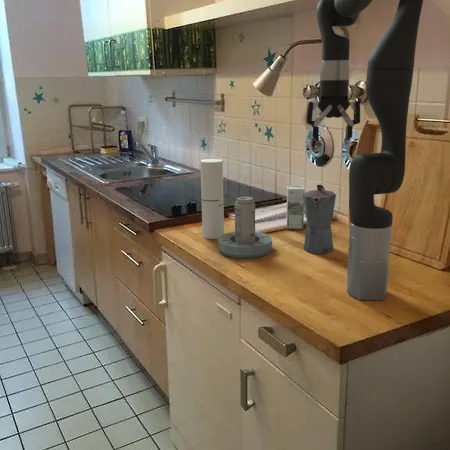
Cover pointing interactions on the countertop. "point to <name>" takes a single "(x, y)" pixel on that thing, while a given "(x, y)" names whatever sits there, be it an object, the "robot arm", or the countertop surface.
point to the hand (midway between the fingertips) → (332, 140)
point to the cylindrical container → (212, 198)
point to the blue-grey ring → (244, 246)
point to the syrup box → (295, 207)
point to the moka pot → (319, 220)
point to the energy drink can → (244, 220)
